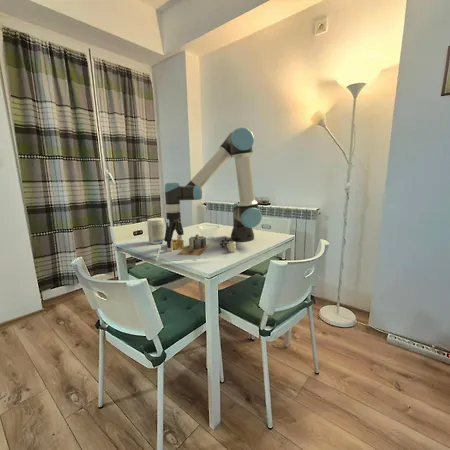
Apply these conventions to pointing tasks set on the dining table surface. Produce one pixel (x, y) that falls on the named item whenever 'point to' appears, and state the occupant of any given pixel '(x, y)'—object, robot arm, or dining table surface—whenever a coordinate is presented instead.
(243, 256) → the dining table surface
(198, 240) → the gear
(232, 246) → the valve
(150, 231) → the supplement tub
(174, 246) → the brass gear
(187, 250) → the gear board
